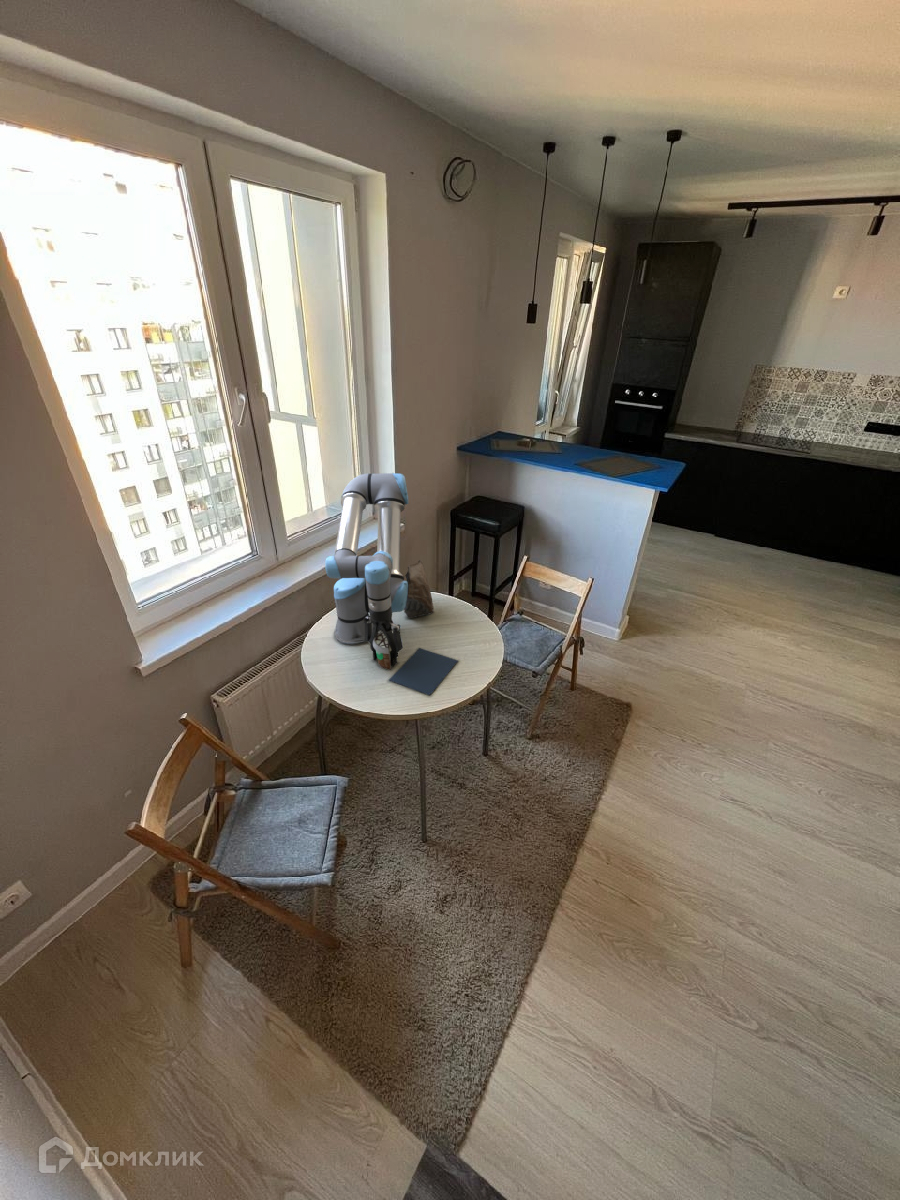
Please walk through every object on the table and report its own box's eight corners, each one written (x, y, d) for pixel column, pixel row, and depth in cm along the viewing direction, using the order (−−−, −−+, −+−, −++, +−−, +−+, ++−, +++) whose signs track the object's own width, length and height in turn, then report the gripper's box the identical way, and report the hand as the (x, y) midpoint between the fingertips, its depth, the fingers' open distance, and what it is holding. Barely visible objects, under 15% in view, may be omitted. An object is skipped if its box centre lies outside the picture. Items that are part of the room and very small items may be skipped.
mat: (389, 680, 166) (389, 679, 166) (419, 648, 181) (419, 647, 181) (430, 695, 160) (430, 694, 160) (458, 661, 175) (458, 660, 175)
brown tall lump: (405, 620, 197) (408, 584, 183) (394, 599, 205) (396, 563, 191) (434, 613, 202) (439, 577, 188) (422, 593, 210) (426, 556, 196)
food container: (377, 650, 181) (374, 628, 175) (393, 650, 180) (392, 628, 175) (372, 672, 170) (369, 649, 165) (390, 672, 170) (388, 649, 165)
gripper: (349, 604, 164) (356, 659, 176) (399, 619, 156) (403, 675, 168) (362, 594, 170) (368, 647, 182) (411, 608, 162) (414, 663, 174)
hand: (385, 661), depth 175 cm, fingers closed on food container, 7 cm apart
